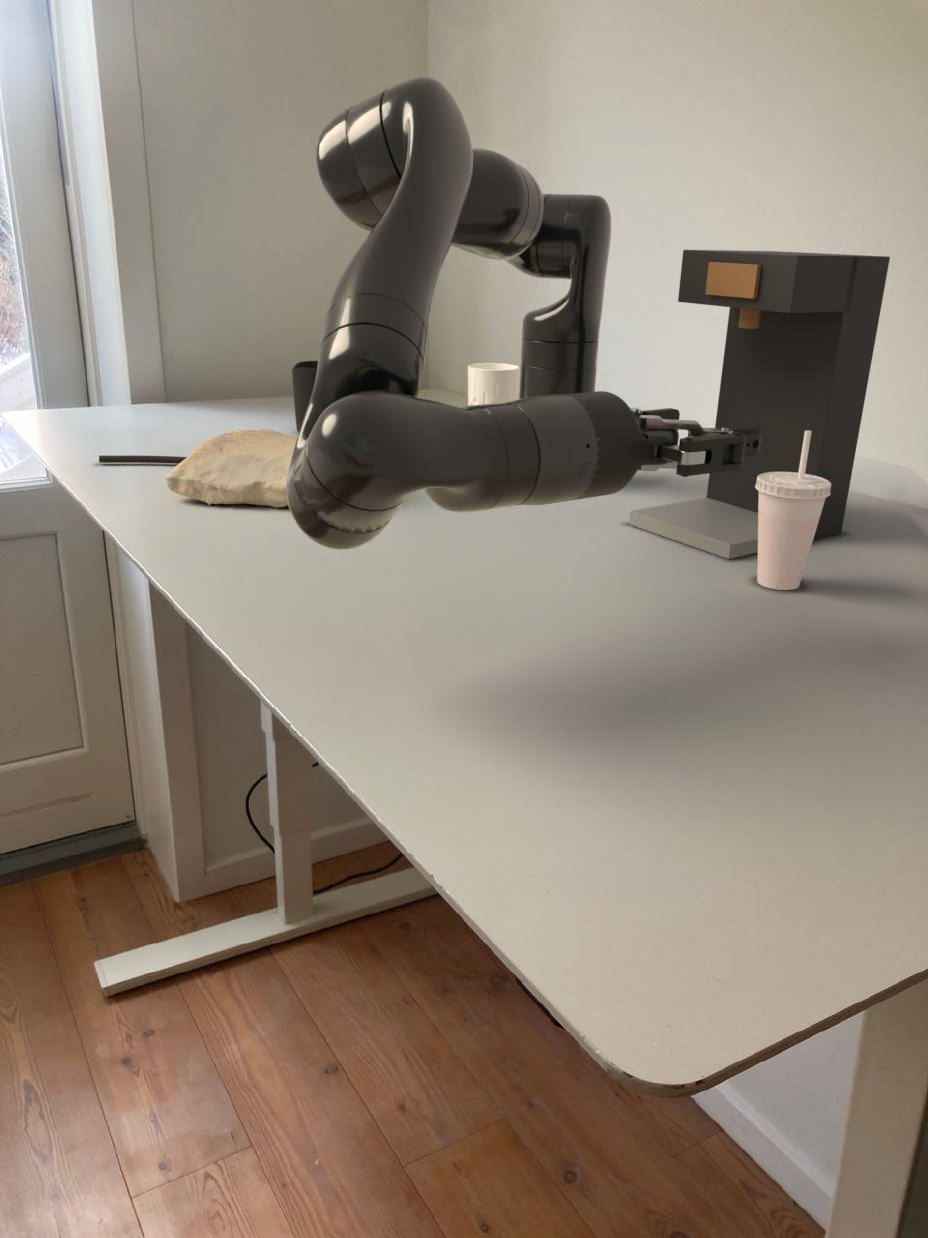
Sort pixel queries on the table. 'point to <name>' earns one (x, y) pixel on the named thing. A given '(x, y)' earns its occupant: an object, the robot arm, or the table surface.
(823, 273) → the coffee maker
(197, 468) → the beige stone slab
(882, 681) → the table surface
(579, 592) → the table surface
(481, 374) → the white cup
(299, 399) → the pen holder
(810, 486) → the smoothie
